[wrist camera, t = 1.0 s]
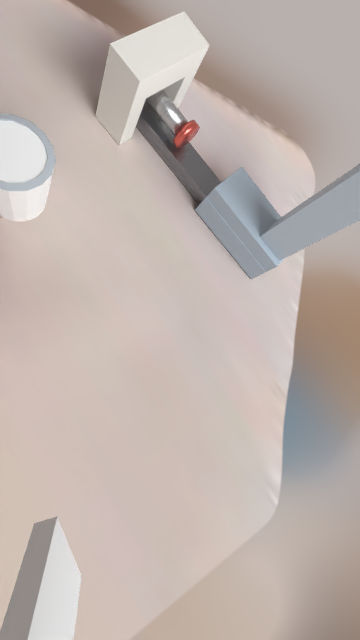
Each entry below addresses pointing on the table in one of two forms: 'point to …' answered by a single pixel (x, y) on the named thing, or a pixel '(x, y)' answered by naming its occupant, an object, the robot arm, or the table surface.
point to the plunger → (173, 118)
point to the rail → (177, 155)
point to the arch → (148, 71)
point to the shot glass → (24, 168)
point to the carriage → (276, 219)
